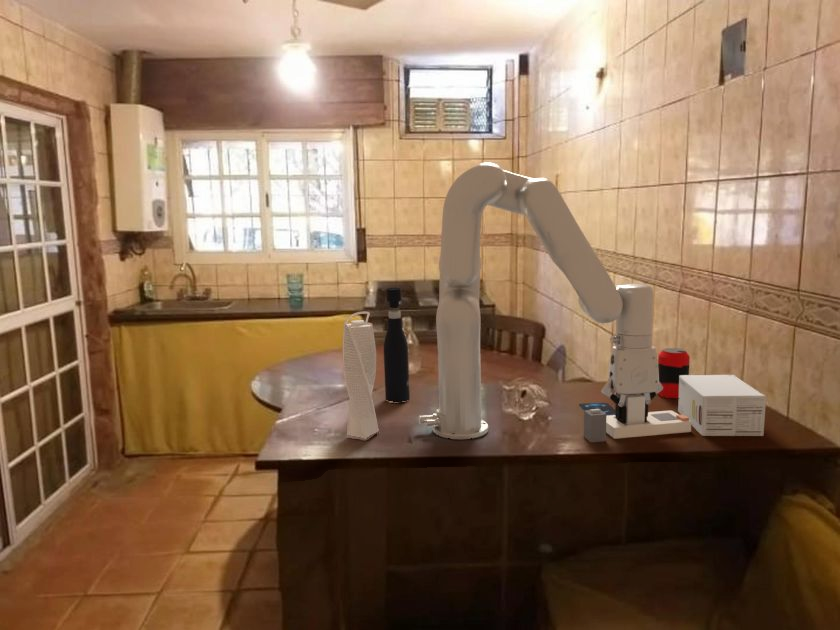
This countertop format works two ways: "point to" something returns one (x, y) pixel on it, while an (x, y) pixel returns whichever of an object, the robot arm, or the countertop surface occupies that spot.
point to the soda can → (672, 370)
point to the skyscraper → (360, 375)
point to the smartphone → (599, 407)
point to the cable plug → (594, 425)
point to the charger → (635, 409)
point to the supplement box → (721, 405)
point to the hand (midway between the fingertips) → (631, 420)
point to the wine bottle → (395, 352)
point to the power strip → (649, 425)
